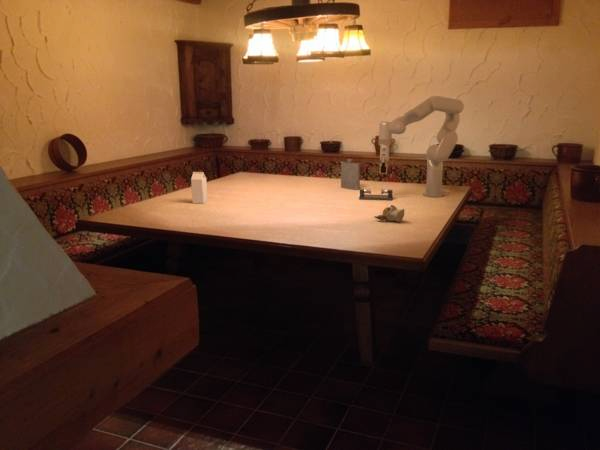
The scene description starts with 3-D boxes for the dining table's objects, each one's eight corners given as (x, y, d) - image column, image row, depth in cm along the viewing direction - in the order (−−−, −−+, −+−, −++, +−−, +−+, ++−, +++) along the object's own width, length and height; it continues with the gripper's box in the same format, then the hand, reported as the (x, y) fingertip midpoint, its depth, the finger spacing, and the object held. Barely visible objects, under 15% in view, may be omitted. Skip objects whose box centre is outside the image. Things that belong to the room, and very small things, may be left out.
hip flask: (360, 189, 356) (360, 160, 351) (356, 190, 353) (356, 160, 348) (343, 186, 367) (343, 157, 362) (339, 187, 365) (339, 158, 359)
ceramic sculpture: (399, 207, 265) (373, 206, 274) (399, 224, 267) (373, 222, 275) (408, 204, 273) (382, 202, 282) (409, 220, 275) (383, 218, 284)
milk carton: (203, 203, 323) (201, 173, 318) (192, 203, 324) (190, 172, 320) (207, 201, 330) (205, 171, 325) (197, 201, 331) (195, 170, 326)
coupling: (387, 172, 327) (387, 162, 325) (386, 174, 323) (387, 162, 322) (379, 172, 328) (380, 161, 326) (379, 173, 324) (379, 162, 322)
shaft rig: (392, 197, 330) (392, 187, 328) (392, 200, 321) (392, 190, 320) (360, 196, 334) (360, 187, 332) (359, 199, 326) (359, 189, 324)
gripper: (390, 144, 312) (388, 174, 317) (391, 141, 328) (390, 170, 333) (377, 143, 314) (376, 174, 318) (379, 140, 329) (378, 170, 334)
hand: (383, 172), depth 325 cm, fingers closed on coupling, 4 cm apart
